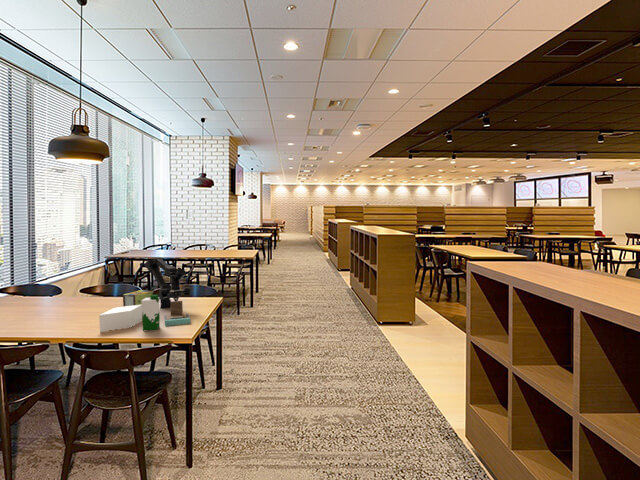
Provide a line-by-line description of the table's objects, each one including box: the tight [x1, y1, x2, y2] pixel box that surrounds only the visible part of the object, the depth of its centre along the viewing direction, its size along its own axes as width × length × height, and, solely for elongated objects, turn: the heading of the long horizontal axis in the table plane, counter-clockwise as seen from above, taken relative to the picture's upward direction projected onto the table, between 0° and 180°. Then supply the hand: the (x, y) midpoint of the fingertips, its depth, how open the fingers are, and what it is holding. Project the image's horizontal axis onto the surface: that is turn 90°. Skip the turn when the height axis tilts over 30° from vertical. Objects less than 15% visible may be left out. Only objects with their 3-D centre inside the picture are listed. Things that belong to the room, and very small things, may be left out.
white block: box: [98, 304, 142, 333], centre depth 237 cm, size 14×29×10 cm, turn 153°
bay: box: [164, 313, 191, 327], centre depth 246 cm, size 15×14×3 cm
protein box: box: [122, 289, 154, 307], centre depth 258 cm, size 10×15×16 cm
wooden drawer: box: [168, 300, 184, 320], centre depth 248 cm, size 14×8×11 cm, turn 18°
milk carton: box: [141, 294, 161, 332], centre depth 230 cm, size 9×9×20 cm
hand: (176, 302), depth 262 cm, fingers closed
